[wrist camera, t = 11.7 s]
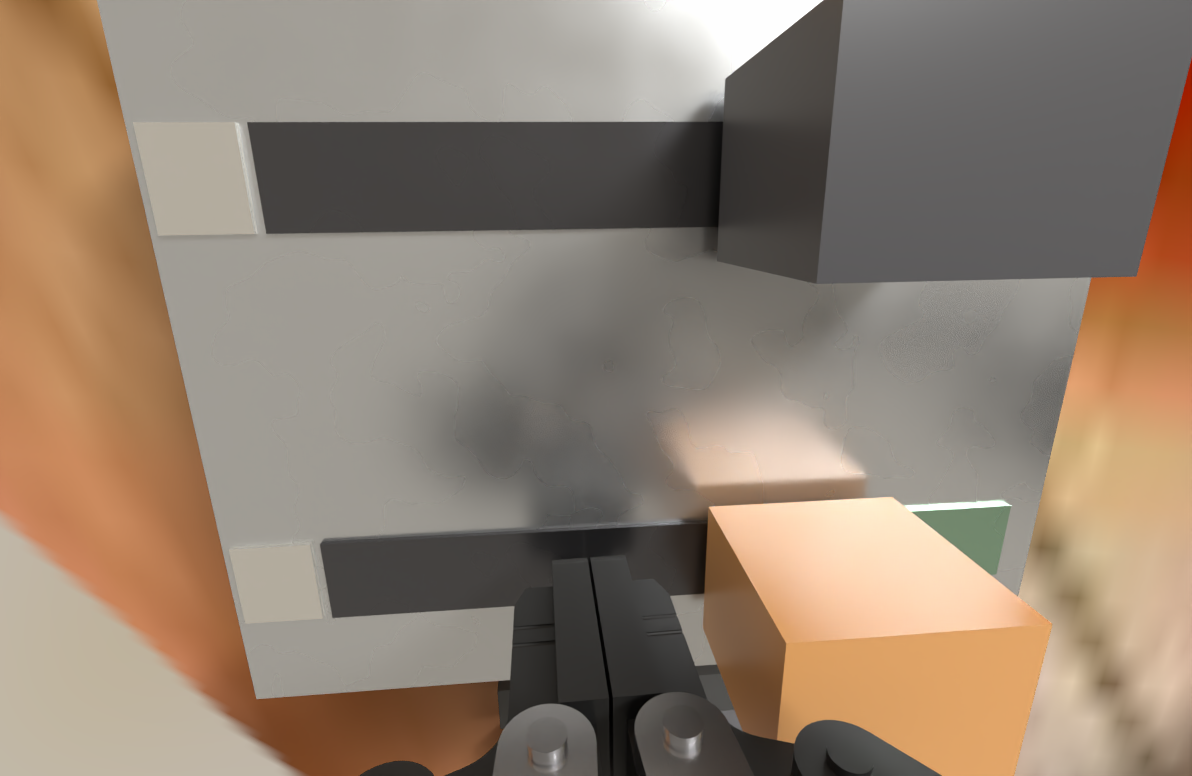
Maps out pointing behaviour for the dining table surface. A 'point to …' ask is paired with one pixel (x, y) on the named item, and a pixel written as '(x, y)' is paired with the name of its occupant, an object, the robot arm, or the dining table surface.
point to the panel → (526, 323)
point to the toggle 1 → (952, 140)
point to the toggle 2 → (869, 632)
